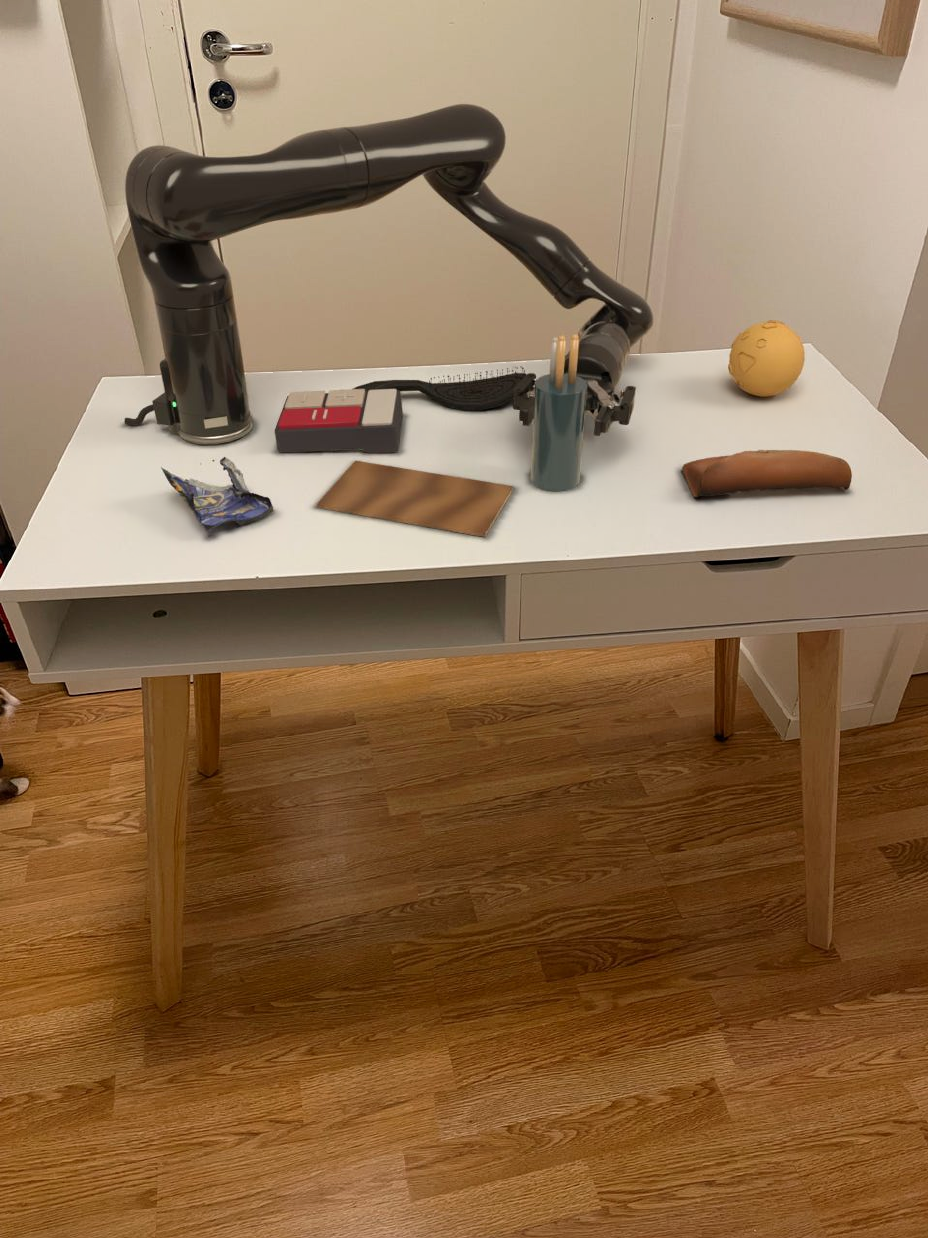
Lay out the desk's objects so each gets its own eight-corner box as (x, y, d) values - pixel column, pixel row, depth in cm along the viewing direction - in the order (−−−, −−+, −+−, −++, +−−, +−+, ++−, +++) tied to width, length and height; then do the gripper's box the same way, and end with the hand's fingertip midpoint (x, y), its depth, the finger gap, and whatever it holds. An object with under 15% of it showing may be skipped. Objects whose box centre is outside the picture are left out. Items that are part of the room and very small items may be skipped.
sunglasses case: (820, 456, 118) (843, 426, 112) (834, 507, 115) (858, 478, 109) (677, 464, 116) (691, 433, 110) (687, 515, 114) (703, 487, 107)
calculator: (286, 388, 126) (400, 383, 126) (291, 419, 129) (403, 414, 128) (272, 425, 117) (394, 420, 117) (278, 457, 120) (398, 452, 120)
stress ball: (790, 380, 138) (805, 311, 132) (801, 410, 130) (818, 337, 124) (719, 377, 139) (731, 308, 133) (726, 406, 131) (739, 334, 125)
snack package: (268, 479, 115) (167, 487, 112) (264, 434, 110) (158, 441, 108) (277, 546, 107) (168, 556, 104) (273, 501, 102) (159, 510, 100)
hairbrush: (346, 367, 134) (526, 358, 134) (349, 392, 136) (526, 383, 136) (341, 392, 128) (529, 382, 127) (344, 417, 130) (530, 408, 129)
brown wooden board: (316, 507, 109) (316, 503, 109) (355, 463, 117) (355, 460, 117) (485, 537, 104) (485, 533, 104) (513, 489, 112) (513, 485, 112)
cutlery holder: (525, 486, 113) (531, 337, 102) (537, 464, 117) (545, 319, 107) (573, 494, 112) (585, 343, 101) (584, 471, 116) (596, 325, 105)
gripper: (642, 405, 124) (618, 461, 112) (535, 391, 128) (500, 444, 116) (649, 349, 120) (625, 401, 107) (538, 336, 123) (502, 384, 111)
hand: (560, 423), depth 111 cm, fingers open, 8 cm apart
